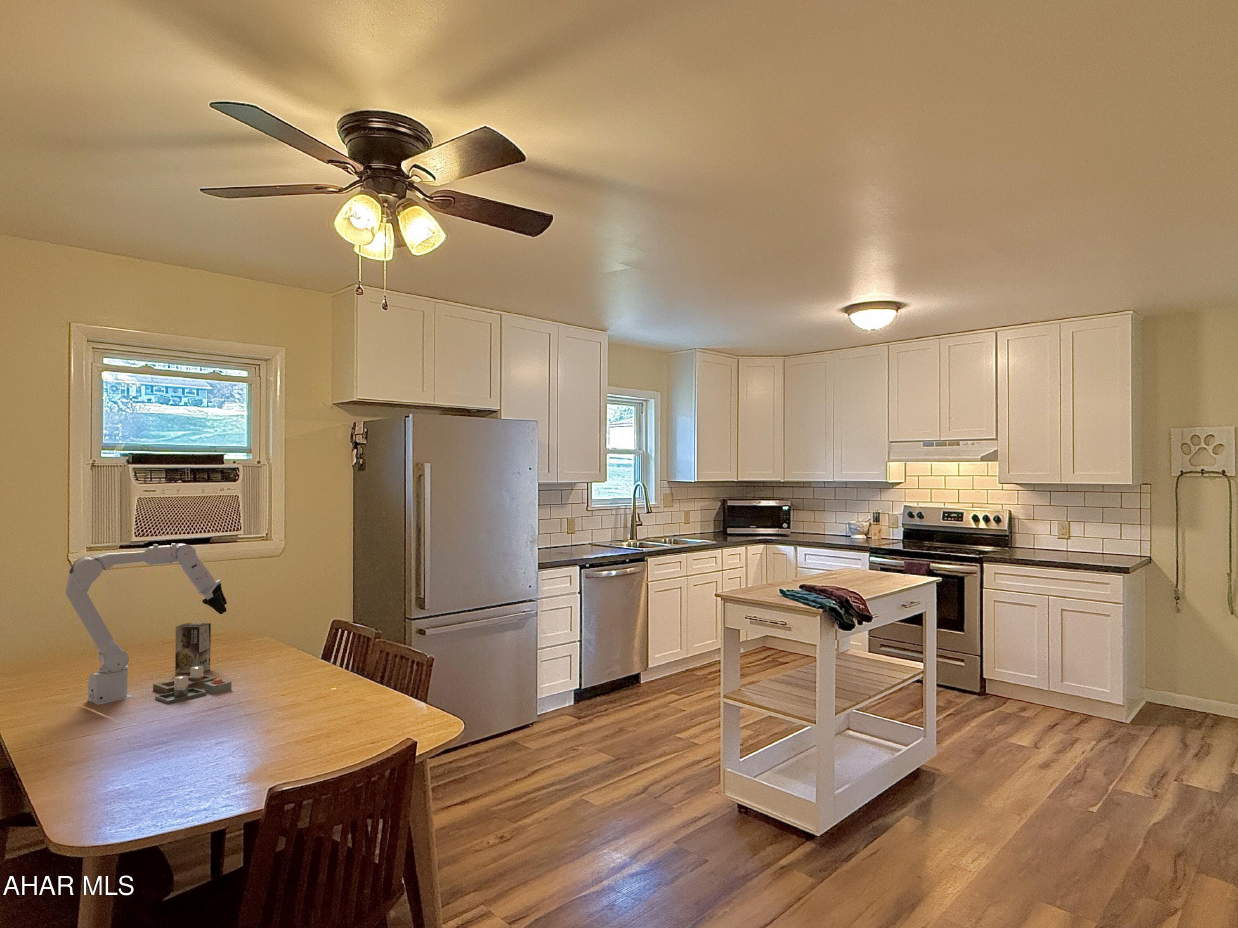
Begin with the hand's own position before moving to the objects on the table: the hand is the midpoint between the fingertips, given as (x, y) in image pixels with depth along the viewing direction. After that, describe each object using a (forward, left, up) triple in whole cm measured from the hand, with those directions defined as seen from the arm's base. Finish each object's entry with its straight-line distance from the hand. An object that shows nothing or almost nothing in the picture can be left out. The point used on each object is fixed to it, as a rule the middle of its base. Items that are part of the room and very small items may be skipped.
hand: (223, 608), depth 242 cm
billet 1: (-17, -9, -23) cm, 30 cm away
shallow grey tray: (-17, -9, -24) cm, 31 cm away
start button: (-7, -11, -22) cm, 26 cm away
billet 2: (-8, +1, -24) cm, 25 cm away
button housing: (-7, -11, -24) cm, 27 cm away
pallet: (-11, +1, -24) cm, 26 cm away
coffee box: (+1, +21, -24) cm, 32 cm away
